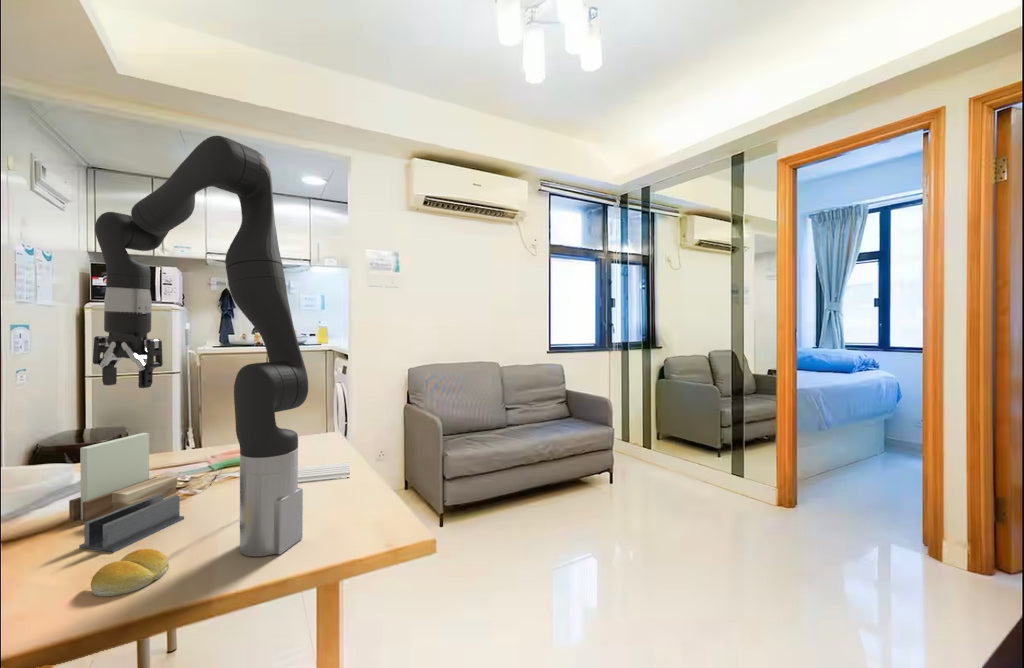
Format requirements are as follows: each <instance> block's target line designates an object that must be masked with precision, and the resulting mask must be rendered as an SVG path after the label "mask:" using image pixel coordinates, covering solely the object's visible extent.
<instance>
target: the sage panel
mask: <svg viewBox="0 0 1024 668" xmlns="http://www.w3.org/2000/svg"><path fill="white" fill-rule="evenodd" d="M79 449H80V451H79V453H80V456H79V457H80V466H79V468H80V497H81V520H83V502H85V501H87V500H90V499H93V498H96V497H99V496H102V495H105V494H108V493H110V492H113V491H116V490H119V489H122V488H125V487H128V486H131V485H133V484H136V483H139V482H142V481H145V480H148V479H150V433H149V432H141V433H138V434H137V433H136V434H132V435H129V436H124V437H121V438H117V439H111V440H108V441H105V442H104V441H103V442H100V443H95V444H91V445H87V446H83V447H80V448H79Z"/></svg>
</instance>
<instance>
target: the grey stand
mask: <svg viewBox="0 0 1024 668" xmlns="http://www.w3.org/2000/svg"><path fill="white" fill-rule="evenodd" d="M180 498H181V497H180V495H178V494H177V495H175V496H172V497H170V498H167V499H165V500H163V494H157V495H154V496H152V497H149V498H146V499H144V500H141V501H139V502H136V503H134V504H131V505H129V506H126V507H123V508H121V509H118V510H116V511H113V512H111V513H108V514H105V515H103V516H100V517H98V518H95V519H93V520H90V521H87V522H85V523H83V524H84V525H83V526H84V527H83V528H84V535H83V536H84V542H83V543H82V544H79V546H78V547H79V549H81V550H88V551H95V552H103V553H108V554H109V553H111V554H114V553H117V552H118V551H120V550H122V549H125V548H127V547H129V546H131V545H133V544H136V543H138V542H139V541H141V540H143V539H146V538H148V537H150V536H152V535H154V534H156V533H158V532H160V531H163V530H164V529H166V528H168V527H169V528H170V527H171V526H173V525H175V524H177V523H180V522H181V521H184V520H185V516H184V515H183V516H182V515H180V511H181V510H180V507H181V506H180V505H181V503H180V502H181V501H180Z"/></svg>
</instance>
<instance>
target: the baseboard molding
mask: <svg viewBox="0 0 1024 668" xmlns="http://www.w3.org/2000/svg"><path fill="white" fill-rule="evenodd" d="M350 474H351V469H350V462H339V463H338V462H337V463H326V464H315V465H305V466H298V484H303V483H304V484H305V483H312V482H313V483H314V482H321V481H323V482H324V481H331V480H330V479H334V480H336V479H335V478H342V477H346V476H349V475H350ZM218 475H220V476H226V477H227V476H228V477H237V478H240V471H239V472H228V473H222V470H220V472H219V474H215V476H214V477H213V481H215V480H216V479H217V477H218ZM350 476H351V475H350ZM211 485H212V483H209V486H211Z"/></svg>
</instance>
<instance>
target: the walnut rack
mask: <svg viewBox="0 0 1024 668" xmlns="http://www.w3.org/2000/svg"><path fill="white" fill-rule="evenodd" d="M157 477H158V476H154V477H150V478H149V479H148V480H151V479H154V478H157ZM148 480H145V481H148ZM145 481H142V482H145ZM142 482H139V483H142ZM139 483H136V484H139ZM136 484H133V485H136ZM133 485H131V486H133ZM131 486H128V487H131ZM128 487H125V488H128ZM125 488H122V489H125ZM122 489H119V490H122ZM119 490H116V491H119ZM116 491H113V492H116ZM113 492H110V493H108V494H105V495H102V496H99V497H96V498H93V499H90V500H87V501H85V502H83V520H81V496H80V497H76V498H73V499H70V500H69V501H68V507H69V510H68V511H69V512H68V515H69V520H68V522H69V523H70V522H73V523H79V524H80V523H81V524H84V523H85V522H87V521H90V520H93V519H95V518H98V517H100V516H103V515H105V514H108V513H111V512H113V502H112V493H113ZM184 500H187V497H180V502H181V501H184Z"/></svg>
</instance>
